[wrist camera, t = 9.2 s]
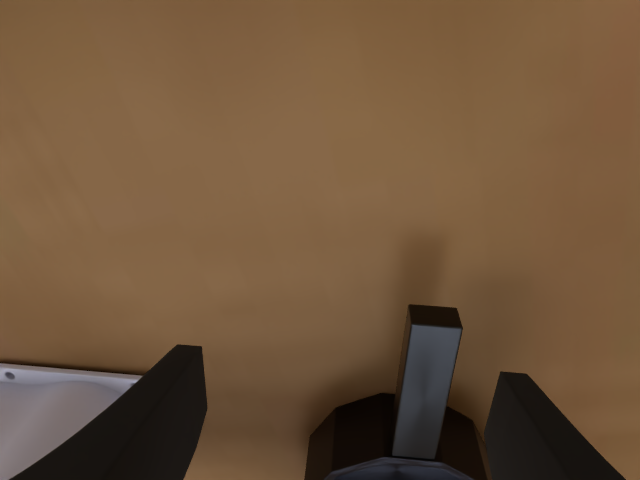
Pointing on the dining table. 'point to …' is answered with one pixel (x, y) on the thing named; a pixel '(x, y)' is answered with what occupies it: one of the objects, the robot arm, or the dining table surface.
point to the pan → (405, 417)
